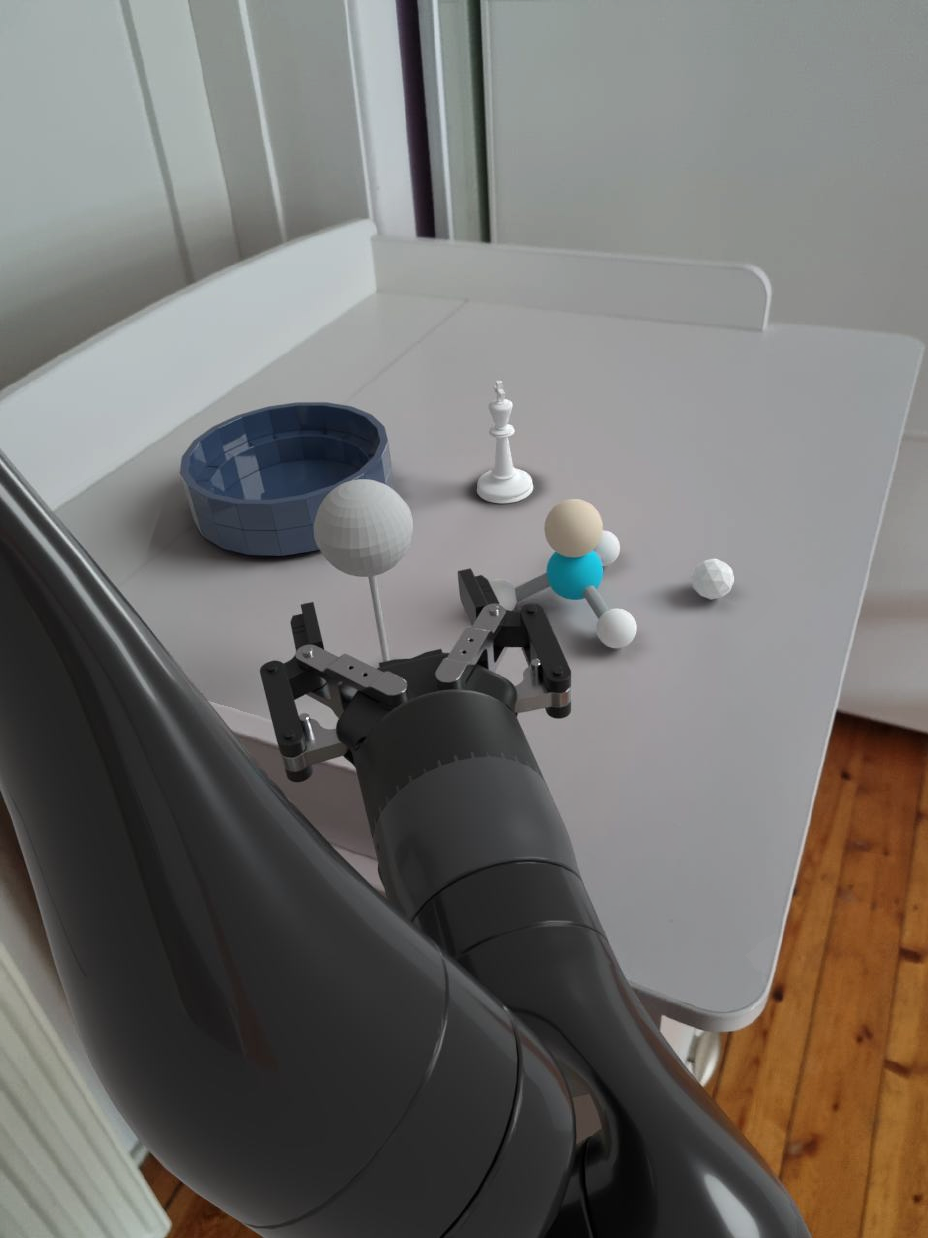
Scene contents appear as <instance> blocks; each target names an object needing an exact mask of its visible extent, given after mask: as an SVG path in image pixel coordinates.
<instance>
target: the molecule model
mask: <svg viewBox="0 0 928 1238" xmlns="http://www.w3.org/2000/svg"><path fill="white" fill-rule="evenodd" d="M603 523H604V522H603V519H602V516H601V514H600V512H599V511H598V510H597V509H596V507H595V506H594V505H592V504H591V503H589V502H588V501H586V500H583V499H580V498H579V499H578V498H569V499H564V500H563V501H560V502H558V503H556V504H555V505H554V506H553V507H552V508H551V510H549V512H548V513H547V515H546V517H545V521H544V526H543V527H544V528H543V530H544V536H545V539H546V541H547V544H548V545H549V547H550V548H551V549H552V550H553V551H554V552H553V554H551V556H550V557H549V559H548V562H547V564H546V572H545V573H543V574H540V575H538V576H536V577H534V578H533V579H532V578H531V579H530V580H528V581H525V582H524V583H522V584H520V585H517V586H515V585H514V584H512V583H511V581H509V580H507V579H504V578H494V579H491V580H488V581H489V583H490V585H491V587H492V589H493V591H494V593H495V595H496V597H497V599H498V601H499V603H500V604H501V605H503V606H504V607H505V609H506V610H509V611H514V609H515V608H516V606H517V604H518V603H519V602H520V601H522V600H525V599H527V598H528V597H531V596H533V595H535V594H537V593H539V592H541V591H544V590H546V589H548V588H549V587H550V589H552V591H553V592H554V593H555V594H556V595H558V596H559V597H561V598H563V599H566V600H569V601H579V600H583V599H585V601H586V602H587V604H588V605H589V607H590V609H591V610H592V611H593V613H594V614H595V617H596V618H597V619H598V620H597V622H596V628H595V629H596V634H597V637H598V639H599V641H600V642H601V643H602V644H604V645H605V646H606V647H609V648H611V649H622V648H625V647H627V646H629V645H630V644H631V643H632V642H633V641H634V639H635V637H636V635H637V631H638V630H637V628H638V626H637V622H636V620H635V617H634V616H633V615H632V614H631V613H630V612H629V611H628V610H625V609H622V608H609V607H608V605H607V603H606V602H605V601H604V599H603V597H602V596H601V595H600V593H599V592H598V588H599V587H600V585H601V584H602V580H603V578H604V567H607V566H609V565H611V564H612V563H614V562H615V561H616V560H617V559H618V558H619V555H620V552H621V544H620V540H619V539H618V537H617V536H616V535H615V534H614V533H613V532H611V531H609V530H604V524H603Z"/></svg>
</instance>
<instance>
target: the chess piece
mask: <svg viewBox="0 0 928 1238" xmlns="http://www.w3.org/2000/svg"><path fill="white" fill-rule="evenodd" d="M493 391H494V392H495V394H496V399H493V400H491V401H490V402H489V403H488V404H487V405H488V406H487V407H488V411H489V413H490V415H491V418H492V421H493V422H494V425H491V427H490V428H489V431H488V433H489V435H490V436H491V437H493V438H495V440H496V441H495V456H494V457H495V458H494V467H493V469H491V470H488V471H486V472H484V473H483V474H482V475H481V476H480V477H479V478H478V480H477V482H476V485H477V486H476V492H477V495H478V496H479V497H480V498H481V499H482V500H484V501H486V502H488V503H489V502H490V503H493V504H513V503H515V502H516V503H517V502H519V501H520V502H521V501H522V500H524V499H526V498H528V497H529V496H530V495H531V494H532V492H533V491H534V484H533V478H532V477H531V475H530V474H529V473H528V472H526V471H524V470H522V469H519V468H516V467H514V463H513V458H512V454H511V449H510V441H509V437H511V436H513V435H514V434H515V431H516V430H515V428H514V425H512V424H509V421H510V416H511V412H512V410H513V407H514V406H513V405H514V404H513V402H512V401H511V400H510V399H507V398H506V395H507V394H506V392H505V390H504V384H503V381H502V380H496V381H495V385H493Z"/></svg>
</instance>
